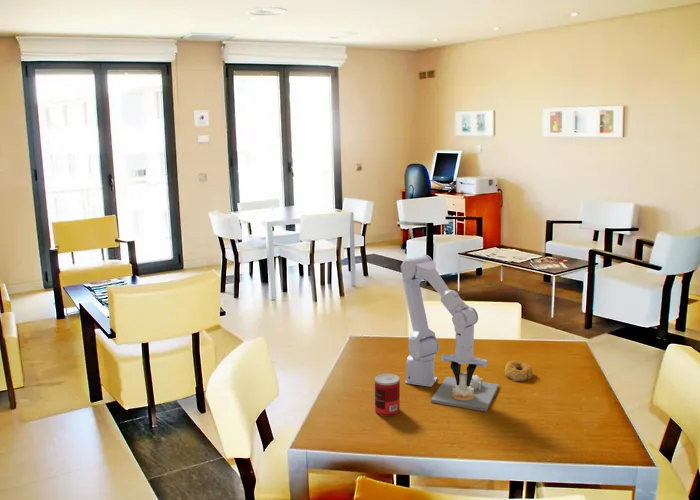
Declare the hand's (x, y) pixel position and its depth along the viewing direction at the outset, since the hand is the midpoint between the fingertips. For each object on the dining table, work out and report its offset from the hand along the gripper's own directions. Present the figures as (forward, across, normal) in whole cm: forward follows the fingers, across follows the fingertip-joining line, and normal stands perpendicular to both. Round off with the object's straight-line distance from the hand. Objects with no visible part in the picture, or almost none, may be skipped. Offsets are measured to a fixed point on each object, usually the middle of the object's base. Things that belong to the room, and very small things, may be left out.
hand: (463, 384), depth 210 cm
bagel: (+5, +14, +26) cm, 30 cm away
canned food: (+5, -20, -18) cm, 27 cm away
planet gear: (+2, 0, 0) cm, 3 cm away
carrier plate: (+5, 0, +4) cm, 6 cm away
